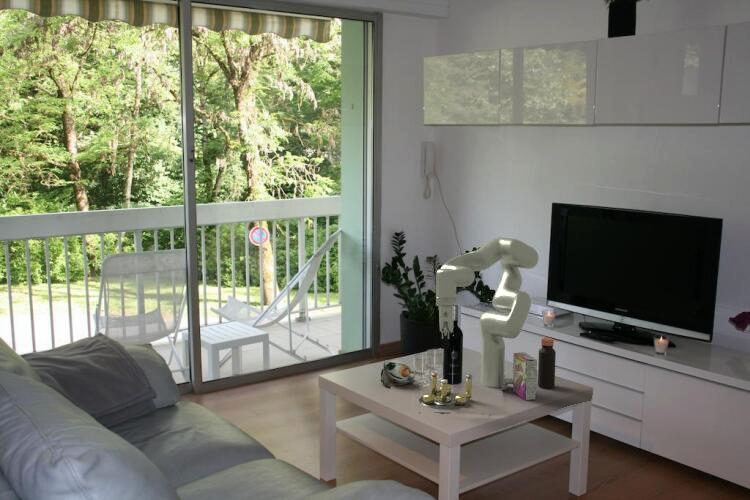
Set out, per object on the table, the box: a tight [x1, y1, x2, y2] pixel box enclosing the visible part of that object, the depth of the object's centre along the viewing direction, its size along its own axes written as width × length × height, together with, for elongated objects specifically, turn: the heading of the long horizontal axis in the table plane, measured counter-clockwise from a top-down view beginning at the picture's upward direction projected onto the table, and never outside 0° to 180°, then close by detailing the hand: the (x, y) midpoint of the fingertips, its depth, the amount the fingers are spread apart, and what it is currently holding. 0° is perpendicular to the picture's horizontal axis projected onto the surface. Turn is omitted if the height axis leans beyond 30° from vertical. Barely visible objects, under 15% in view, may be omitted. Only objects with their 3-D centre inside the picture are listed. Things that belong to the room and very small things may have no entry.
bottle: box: [537, 337, 557, 390], centre depth 320 cm, size 7×7×20 cm
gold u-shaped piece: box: [430, 372, 452, 396], centre depth 304 cm, size 9×4×10 cm, turn 128°
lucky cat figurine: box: [380, 359, 417, 388], centre depth 322 cm, size 15×12×14 cm
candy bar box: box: [512, 351, 538, 401], centre depth 308 cm, size 11×5×16 cm, turn 17°
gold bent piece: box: [455, 373, 473, 405], centre depth 297 cm, size 9×4×10 cm, turn 144°
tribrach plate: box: [418, 392, 472, 415], centre depth 300 cm, size 20×20×3 cm
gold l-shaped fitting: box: [422, 378, 448, 404], centre depth 295 cm, size 9×4×10 cm, turn 67°
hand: (445, 345), depth 297 cm, fingers open, 9 cm apart
